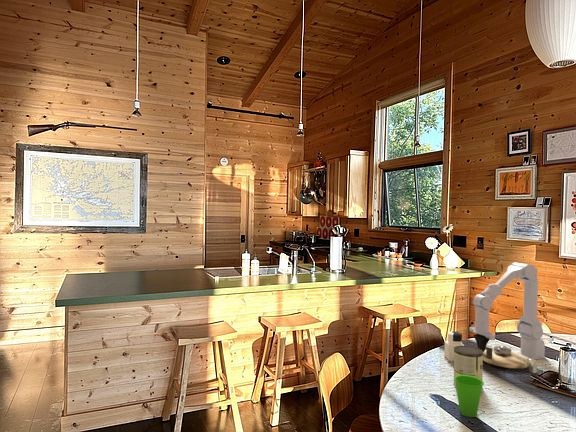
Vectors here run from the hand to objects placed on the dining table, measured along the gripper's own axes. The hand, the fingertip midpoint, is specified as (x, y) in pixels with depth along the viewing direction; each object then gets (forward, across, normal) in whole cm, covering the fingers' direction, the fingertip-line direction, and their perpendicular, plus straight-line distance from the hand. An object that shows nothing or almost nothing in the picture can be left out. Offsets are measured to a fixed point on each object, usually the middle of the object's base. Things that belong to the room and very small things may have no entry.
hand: (481, 351), depth 186 cm
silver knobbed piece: (+4, +15, +11) cm, 19 cm away
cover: (+1, +2, +10) cm, 10 cm away
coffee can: (+4, +25, -26) cm, 36 cm away
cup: (+4, +44, -39) cm, 59 cm away
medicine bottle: (+4, -3, -12) cm, 13 cm away
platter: (+3, +6, +7) cm, 10 cm away
